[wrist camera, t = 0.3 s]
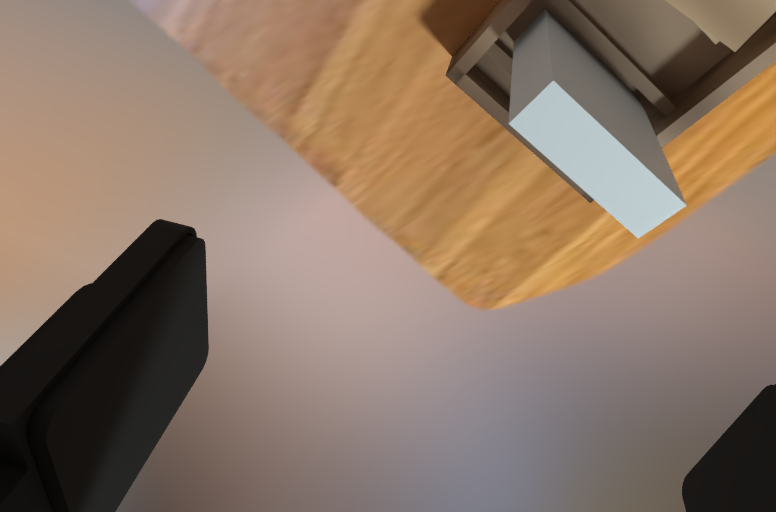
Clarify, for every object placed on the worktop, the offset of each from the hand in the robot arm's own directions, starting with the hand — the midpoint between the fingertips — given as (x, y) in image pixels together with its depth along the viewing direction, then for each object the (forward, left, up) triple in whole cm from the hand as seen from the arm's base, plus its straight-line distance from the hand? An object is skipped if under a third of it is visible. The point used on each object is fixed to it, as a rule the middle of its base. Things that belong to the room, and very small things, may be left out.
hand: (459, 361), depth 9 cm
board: (0, +6, -28) cm, 28 cm away
